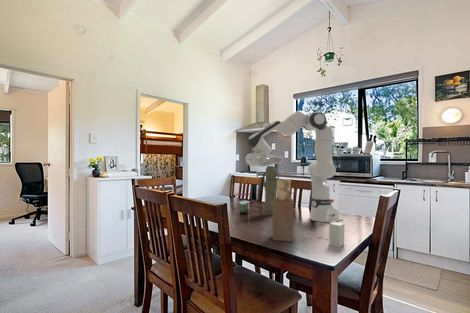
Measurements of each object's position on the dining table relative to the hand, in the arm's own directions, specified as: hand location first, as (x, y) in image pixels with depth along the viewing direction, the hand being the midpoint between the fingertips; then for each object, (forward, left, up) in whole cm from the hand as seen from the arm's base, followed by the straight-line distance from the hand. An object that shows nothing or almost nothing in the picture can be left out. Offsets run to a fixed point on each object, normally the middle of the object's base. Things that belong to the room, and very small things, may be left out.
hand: (274, 159), depth 146 cm
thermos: (-20, -33, -40) cm, 56 cm away
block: (+6, +16, -40) cm, 44 cm away
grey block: (-12, +34, -40) cm, 54 cm away
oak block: (+6, +16, -20) cm, 26 cm away
